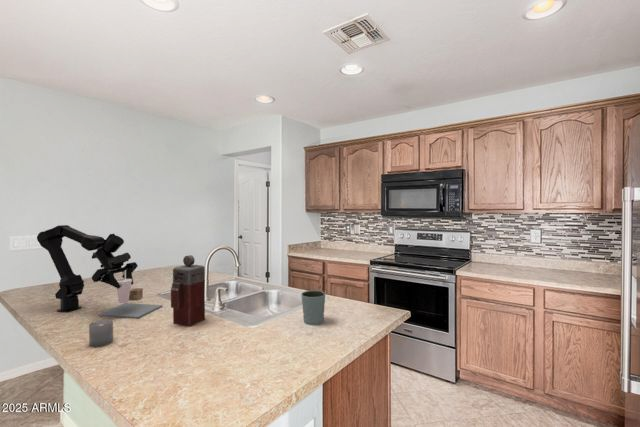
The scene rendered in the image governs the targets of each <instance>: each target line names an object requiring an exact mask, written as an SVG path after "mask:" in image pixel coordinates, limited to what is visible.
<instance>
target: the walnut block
mask: <svg viewBox="0 0 640 427" xmlns="http://www.w3.org/2000/svg"><path fill="white" fill-rule="evenodd" d="M143 290H144V289H143V287H141V288H140V287H138V288H137V287H136V288H135V287H134V288H130V295H129V301H140V300H141V299H142V298H143V294H144V293H143V292H144V291H143ZM129 301H128V302H129Z"/></svg>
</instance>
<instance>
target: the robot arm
mask: <svg viewBox="0 0 640 427" xmlns="http://www.w3.org/2000/svg"><path fill="white" fill-rule="evenodd" d="M64 238H68V239H70V240H72V241H73V242H77V243H78V244H80V246H81V247H82V248H83V249H85V250H86V251H90V252H91V251H95V252H92V255H91V259H97V260H98V262H99V263H100V264H101V265H100V268H99V269H96V271H94V273H93V274H92V275H91V280H92V282H93V283H98V282H101V283H104V284H107V285H110V286H112V287H114V288H116V289H117V288H118V289H119V288H120V285H119V283H118V282H117V280H118V279H116V277H115V274H119V273H122V276H121V277H122V279H125V270H126V279H132V282H131V286H133V284H134V279H133V272H134V271H135V270H136V269H137V268H138V266H139V265H138V264H137V262H135V261H133V262H129V261H130V260H131V259H132V258H131V254H129V252H124V253H122V254H118V255H116V256H115V255H114V254H113V253H116V252H117V251H118V250H119V249H120V248H121V247H122V246H123V245H124V243H125V240H124V239H123V238H122V237H121V236H119V235H117V234H116V235H115V233H110V234H108V236H107V238H106V239H105V238H104V237H103V236H98V235H91V234H87V233H85V232H82V231H80V230H78V229H76V228H74V227H71V226H70V225H68V224H66V225H65V224H64V225H63V224H62V225H59V224H58V225H56V226H54V227H52V228H50V229H47V230H43V231H40V232H39V233H38V234H37V236H36V240H37V242H38V243H39V245H40V246H41V247H42V248H44V249H45V250H46V251H47V252H48V254H49V255H50V258H51V260H52V263H53V264H54V266H55V268H56V270H57V273H58V275H59V278H60V279H59V284H58V287H59V289H58V290H57V291H56V293H55V294H54V295H55V298H56V299H57V300H59V301H60V308H59V309H57V310H56V312H63V313H64V312H65V313H66V312H68V313H70V312H73V311H75V310H78V309H81V308H82V306H81V305H79V304H80V301H79V300H80V299H79V295H82V294H83V290H84V287H85V284H84V283H85V281H84V280H83V277H82V275H81V274H77V275H76V274H75V273H74V271H73V268H72V266H71V265H70V263H69V261H68V260H69V259H68V258H67V255H66V253H65V251H64V250H63V247H62V244H63V242H64V241H63V239H64ZM126 262H127V263H126ZM125 263H126V264H125ZM123 266H124V267H123Z"/></svg>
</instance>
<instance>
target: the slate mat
mask: <svg viewBox="0 0 640 427" xmlns="http://www.w3.org/2000/svg"><path fill="white" fill-rule="evenodd" d="M161 308H163V304H149V303H135V302H134V303H133V302H126V303H121V304H120V305H116V306H114V307H112V308H110V309H107V310H104V311H102V312H99V313H97V317H108V318H120V319H121V318H123V319H137V320H138V319H140V318H142V317H144V316H145V317H146V316H147V315H149V314H151V313H153V312H155V311H157V310H159V309H161Z"/></svg>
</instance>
